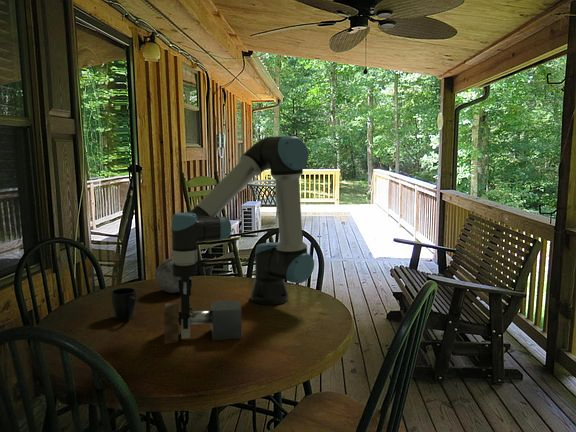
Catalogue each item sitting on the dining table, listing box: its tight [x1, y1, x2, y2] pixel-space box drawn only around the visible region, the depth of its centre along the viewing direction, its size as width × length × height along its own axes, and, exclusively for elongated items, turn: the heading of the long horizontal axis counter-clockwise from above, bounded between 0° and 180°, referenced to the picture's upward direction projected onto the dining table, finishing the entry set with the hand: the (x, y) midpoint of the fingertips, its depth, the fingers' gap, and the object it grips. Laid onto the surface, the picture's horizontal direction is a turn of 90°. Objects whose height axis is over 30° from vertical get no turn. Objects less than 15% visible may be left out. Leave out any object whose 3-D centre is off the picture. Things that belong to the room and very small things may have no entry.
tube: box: [178, 309, 212, 326], centre depth 141 cm, size 14×5×5 cm, turn 102°
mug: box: [110, 287, 137, 321], centre depth 156 cm, size 8×12×10 cm
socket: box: [163, 302, 180, 344], centre depth 140 cm, size 4×9×10 cm, turn 12°
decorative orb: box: [154, 257, 193, 294], centre depth 187 cm, size 15×14×15 cm
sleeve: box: [210, 299, 242, 341], centre depth 144 cm, size 9×9×10 cm
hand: (185, 334), depth 142 cm, fingers closed on tube, 5 cm apart
